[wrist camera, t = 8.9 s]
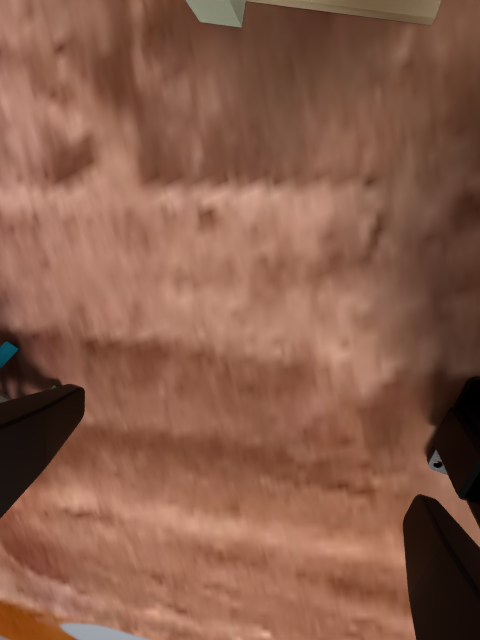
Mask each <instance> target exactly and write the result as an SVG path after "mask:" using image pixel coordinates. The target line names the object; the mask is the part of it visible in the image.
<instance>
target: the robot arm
mask: <svg viewBox="0 0 480 640" xmlns="http://www.w3.org/2000/svg"><path fill="white" fill-rule="evenodd" d="M478 384H480V377H477V376H476V377H472V378H470V379H469V380H468V381H467V382H466V384H465V386H464V388H463V390H462V392H461V394H460V396H459V398H458V400H457V402H456V403H455V405H454V407H452V408H451V409H449V411H448V413H447V415H446V417H445V419H444V421H443V423H442V425H441V427H440V429H439V430H438V432H437V434H436V436H435V438H434V440H433V444H434V446H433V448H432V449H431V451H430V453H429V455H428V457H427V462H428V465H429V467H430V468H431V469H432V470H434V471H437V472H440V473H444V474H447V475H448V476H449V478H450V480H451V482H452V485H453V487H454V489H455V491H456V493H457V495H458V496H459V498H460V499H462V500H465V501H467V503H468V505H469V507H470V509H471V511H472V514H473V516H474V518H475V520H476V522H477V524H478V526H479V528H480V388H477V389H475V388H474V387H475V386H476V385H478ZM84 411H85V390H84V388H82V387H80V386H77V385H74V384H66V385H63V386H59V387H55V388H52V389H48V390H45V391H41V392H37V393H34V394H30V395H27V396H23V397H19V398H16V399H12V400H9V401H5V402H1V403H0V518H1V517H2V516H3V515H4V514H5V513H6V512H7V511H8V509H9V508H10V507H11V506H12V505H13V504H14V503H15V502H16V501H17V499H18V498H19V497H20V496H21V495H22V494H23V493H24V492H25V490H26V489H27V488H28V487H29V486H30V485H31V484H32V483H33V482H34V480H35V479H36V478H37V477H38V476H39V475H40V474H41V473H42V471H43V470H44V469H45V468H46V467H47V465H48V464H49V463H50V462H51V460H52V459H53V458H54V456H55V455H56V454H57V452H58V451H59V450H60V448H61V447H62V446H63V444H64V443H65V441H66V440H67V439H68V437H69V436H70V435H71V433H72V432H73V431H74V429H75V428H76V427H77V425H78V424H79V423H80V421H81V420H82V418H83V415H84ZM436 461H440V462H439V463H434V462H436ZM403 535H404V547H405V560H406V572H407V584H408V593H409V601H410V607H411V613H412V618H413V624H414V629H415V635H416V640H480V547H479V546H478V545H477V544H476V543H475V542H474V541H473V540H472V538H471V537H470V536H469V535H468V534H467V533H466V532H465V531H464V530H463V528H462V527H461V526H460V525H459V524H458V523H457V522H456V521H455V519H454V518H453V517H452V516H451V515H450V514H449V513H448V512H447V511H446V509H445V508H444V507H443V506H442V505H441V504H440V503H439V502H438V501H437V500H436V499H434V498H431V497H428V496H425V495H421V494H418V495H417V496H415V498H414V500H413V501H412V503H411V505H410V507H409V509H408V511H407V513H406V515H405V517H404V520H403Z"/></svg>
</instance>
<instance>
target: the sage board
mask: <svg viewBox="0 0 480 640" xmlns="http://www.w3.org/2000/svg"><path fill="white" fill-rule="evenodd" d="M186 2H187V3H188V4H189V6H190V7H191V9H192V10H193V12H194V13H195V15H196V16H197V18H198V19H199V21H200V22H205V23H213V24H220V25H227V26H234V27H241V28H242V22H243V16H244V9H245V3H246V0H186Z"/></svg>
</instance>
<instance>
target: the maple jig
mask: <svg viewBox="0 0 480 640" xmlns="http://www.w3.org/2000/svg"><path fill="white" fill-rule="evenodd" d="M246 1H250V2H257V3H265V4H273V5H280V6H288V7H296V8H303V9H311V10H318V11H326V12H334V13H341V14H349V15H357V16H364V17H372V18H380V19H387V20H395V21H403V22H410V23H418V24H425V25H431V24H432V23H433V21H434V20H435V18H436V15H437V12H438V9H439V6H440V3H441V0H246Z"/></svg>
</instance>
